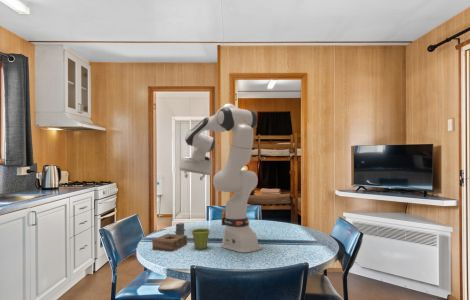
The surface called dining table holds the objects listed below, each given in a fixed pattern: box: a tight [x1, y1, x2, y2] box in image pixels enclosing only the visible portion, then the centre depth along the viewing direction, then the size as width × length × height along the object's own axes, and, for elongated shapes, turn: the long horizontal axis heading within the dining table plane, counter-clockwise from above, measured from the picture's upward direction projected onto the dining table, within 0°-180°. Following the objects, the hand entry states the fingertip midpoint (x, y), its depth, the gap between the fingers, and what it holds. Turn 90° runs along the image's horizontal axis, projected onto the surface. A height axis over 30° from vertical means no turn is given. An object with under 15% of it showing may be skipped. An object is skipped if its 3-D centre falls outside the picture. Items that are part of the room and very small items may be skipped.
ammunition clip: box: [221, 206, 226, 226], centre depth 222 cm, size 11×2×12 cm, turn 108°
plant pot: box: [191, 228, 211, 250], centre depth 165 cm, size 9×9×9 cm
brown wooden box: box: [151, 233, 188, 252], centre depth 168 cm, size 14×12×5 cm
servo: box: [174, 222, 186, 235], centre depth 186 cm, size 6×3×9 cm, turn 160°
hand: (193, 178), depth 198 cm, fingers open, 8 cm apart
